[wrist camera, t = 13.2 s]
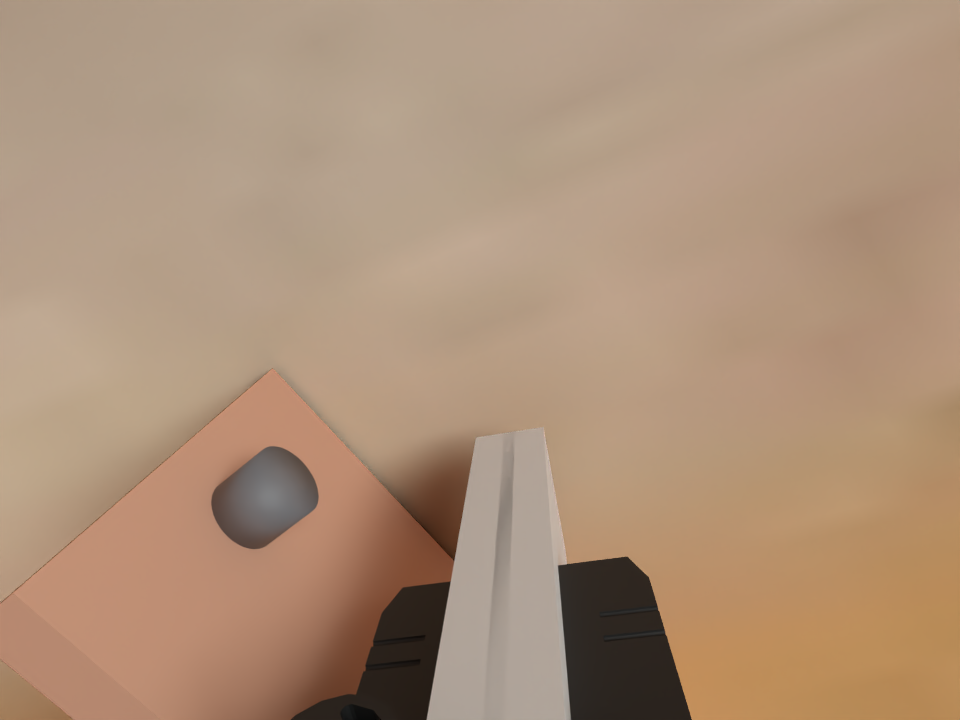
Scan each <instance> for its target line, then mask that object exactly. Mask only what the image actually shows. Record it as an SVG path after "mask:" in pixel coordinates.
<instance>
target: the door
mask: <svg viewBox="0 0 960 720" xmlns="http://www.w3.org/2000/svg"><path fill="white" fill-rule="evenodd" d="M453 566H454V560H453V559H452V558H451V557H450V556H449V555H448V554H447V553H446V552H445V551H444V550H443V549H442V548H441V547H440V546H439V545H438V543H437V542H436V541H435V540H434V539H433V538H432V537H431V536H430V535H429V534H428V533H427V532H426V531H425V530H424V529H423V528H422V526H421V525H420V524H419V523H418V522H417V521H416V520H415V519H414V518H413V517H412V516H411V515H410V514H409V513H408V512H407V510H406V509H405V508H404V507H403V506H402V505H401V504H400V503H399V502H398V501H397V500H396V499H395V498H394V497H393V496H392V495H391V493H390V492H389V491H388V490H387V489H386V488H385V487H384V486H383V485H382V484H381V483H380V482H379V481H378V480H377V479H376V478H375V476H374V475H373V474H372V473H371V472H370V471H369V470H368V469H367V468H366V467H365V466H364V465H363V464H362V463H361V462H360V460H359V459H358V458H357V457H356V456H355V455H354V454H353V453H352V452H351V451H350V450H349V449H348V448H347V447H346V446H345V445H344V443H343V442H342V441H341V440H340V439H339V438H338V437H337V436H336V435H335V434H334V433H333V432H332V431H331V430H330V429H329V428H328V426H327V425H326V424H325V423H324V422H323V421H322V420H321V419H320V418H319V417H318V416H317V415H316V414H315V413H314V412H313V410H312V409H311V408H310V407H309V406H308V405H307V404H306V403H305V402H304V401H303V400H302V399H301V398H300V397H299V396H298V395H297V393H296V392H295V391H294V390H293V389H292V388H291V387H290V386H289V385H288V384H287V383H286V382H285V381H284V380H283V379H282V378H281V376H280V375H279V374H278V373H277V372H276V371H275V370H274V369H273V368H272V369H271V370H270V371H269V372H268V373H266V374H265V375H264V376H263V377H262V378H261V379H259V380H258V381H257V382H256V383H255V384H253V385H252V386H251V387H250V388H249V389H248V390H246V391H245V392H244V393H243V394H242V395H241V396H239V397H238V398H237V399H236V400H235V401H234V402H232V403H231V404H230V405H229V406H228V407H227V408H226V409H224V410H223V411H222V412H221V413H220V414H219V415H217V416H216V417H215V418H214V419H213V420H212V421H210V422H209V423H208V424H207V425H206V426H205V427H204V428H202V429H201V430H200V431H199V432H198V433H197V434H195V435H194V436H193V437H192V438H191V439H190V440H188V441H187V442H186V443H185V444H184V445H183V446H182V447H180V448H179V449H178V450H177V451H176V452H175V453H173V454H172V455H171V456H170V457H169V458H168V459H166V460H165V461H164V462H163V463H162V464H161V465H160V466H158V467H157V468H156V469H155V470H154V471H153V472H151V473H150V474H149V475H148V476H147V477H146V478H144V479H143V480H142V481H141V482H140V483H139V484H138V485H136V486H135V487H134V488H133V489H132V490H131V491H129V492H128V493H127V494H126V495H125V496H124V497H123V498H121V499H120V500H119V501H118V502H117V503H116V504H114V505H113V506H112V507H111V508H110V509H109V510H107V511H106V512H105V513H104V514H103V515H102V516H101V517H99V518H98V519H97V520H96V521H95V522H94V523H92V524H91V525H90V526H89V527H88V528H87V529H85V530H84V531H83V532H82V533H81V534H80V535H79V536H77V537H76V538H75V539H74V540H73V541H72V542H70V543H69V544H68V545H67V546H66V547H65V548H63V549H62V550H61V551H60V552H59V553H58V554H57V555H55V556H54V557H53V558H52V559H51V560H50V561H48V562H47V563H46V564H45V565H44V566H43V567H42V568H40V569H39V570H38V571H37V572H36V573H35V574H33V575H32V576H31V577H30V578H29V579H28V580H26V581H25V582H24V583H23V584H22V585H21V586H20V587H18V588H17V589H16V590H15V591H14V592H13V593H11V594H10V595H9V596H8V597H7V598H6V599H4V600H3V601H2V602H1V603H0V659H1V660H2V661H3V662H4V663H6V664H7V665H8V666H9V667H10V668H12V669H13V670H14V671H15V672H16V673H18V674H19V675H20V676H21V677H23V678H24V679H25V680H26V681H27V682H29V683H30V684H31V685H32V686H33V687H35V688H36V689H37V690H38V691H40V692H41V693H42V694H43V695H44V696H46V697H47V698H48V699H49V700H50V701H52V702H53V703H54V704H55V705H56V706H58V707H59V708H60V709H61V710H63V711H64V712H65V713H66V714H67V715H69V716H70V717H71V718H72V719H73V720H291V719H292V718H293V717H294V716H295V715H297V714H298V713H300V712H302V711H304V710H306V709H307V708H309V707H311V706H313V705H315V704H317V703H318V702H320V701H322V700H326V699H330V698H334V697H338V696H342V695H346V694H354V695H356V693H357V690H358V686H359V683H360V680H361V677H362V674H363V671H365V670H366V667H365V664H366V661H367V658H368V655H369V652H370V649H371V647H373V639H374V636H375V633H376V630H377V626H378V623H379V620H380V617H381V614H382V612H383V611H384V609H385V608H386V607H387V606H388V605H389V603H390V602H391V601H392V600H393V599H394V597H395V596H396V595H397V594H398V593H399V591H400V590H401V589H402V588H403V587H410V586H418V585H426V584H434V583H442V582H450V581H451V578H452V572H453Z"/></svg>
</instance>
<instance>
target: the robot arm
mask: <svg viewBox="0 0 960 720" xmlns="http://www.w3.org/2000/svg"><path fill="white" fill-rule="evenodd" d="M365 667H366V670H365V671H363V674H362V677H361V680H360V683H359V686H358V690H357V693H356V695H354V694H346V695H342V696H338V697H334V698H330V699H326V700H322V701H320V702H318V703H317V704H315V705H313V706H311V707H309V708H307V709H306V710H304V711H302V712H300V713H298V714H297V715H295V716H294V717H293V718H292V719H291V720H692V719H691V716H690V712H689V709H688V706H687V702H686V699H685V696H684V692H683V689H682V686H681V683H680V679H679V676H678V673H677V669H676V666H675V663H674V659H673V656H672V653H671V649H670V646H669V643H668V639H667V636H666V635H665V630H664V626H663V623H662V620H661V616H660V613H659V611H658V607H657V603H656V600H655V596H654V593H653V590H652V586H651V583H650V580H649V577H648V576H647V575H646V574H645V573H643V572H642V571H641V570H640V569H639V568H638V567H637V566H636V565H635V564H634V563H633V562H632V561H631V560H630V559H629V558H628V557H621V558H613V559H605V560H597V561H589V562H581V563H573V564H567V560H566V551H565V545H564V539H563V534H562V528H561V523H560V517H559V512H558V506H557V501H556V495H555V489H554V484H553V478H552V473H551V467H550V462H549V456H548V451H547V445H546V439H545V434H544V428H543V427H541V428H534V429H528V430H521V431H515V432H508V433H502V434H495V435H489V436H482V437H476V440H475V446H474V452H473V458H472V463H471V469H470V475H469V480H468V486H467V492H466V498H465V503H464V509H463V515H462V520H461V526H460V532H459V538H458V543H457V549H456V555H455V561H454V566H453V572H452V578H451V581H450V582H442V583H434V584H426V585H418V586H410V587H403V588H402V589H401V590H400V591H399V593H398V594H397V595H396V596H395V597H394V599H393V600H392V601H391V602H390V603H389V605H388V606H387V607H386V608H385V609H384V611H383V612H382V614H381V617H380V620H379V623H378V626H377V630H376V633H375V636H374V639H373V647H371V649H370V652H369V655H368V658H367V661H366V664H365Z"/></svg>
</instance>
